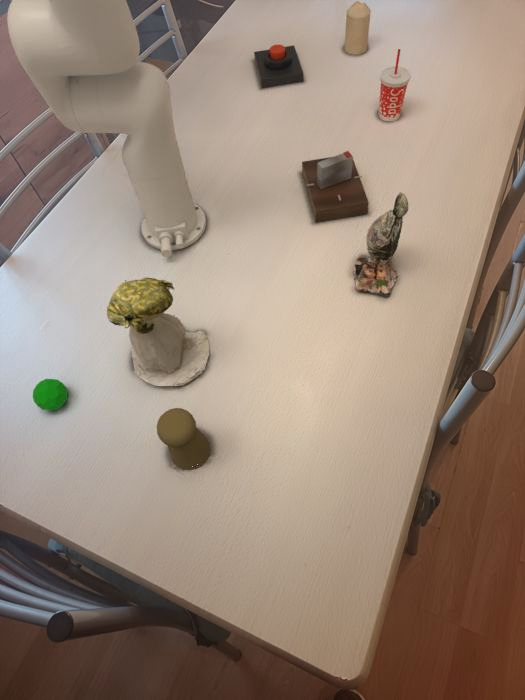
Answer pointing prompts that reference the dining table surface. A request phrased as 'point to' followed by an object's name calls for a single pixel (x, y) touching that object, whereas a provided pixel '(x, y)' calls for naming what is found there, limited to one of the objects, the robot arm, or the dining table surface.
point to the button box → (278, 68)
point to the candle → (357, 28)
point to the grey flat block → (334, 170)
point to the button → (277, 52)
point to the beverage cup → (392, 91)
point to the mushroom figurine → (157, 333)
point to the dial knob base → (334, 195)
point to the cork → (183, 439)
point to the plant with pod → (381, 251)
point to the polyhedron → (50, 394)
